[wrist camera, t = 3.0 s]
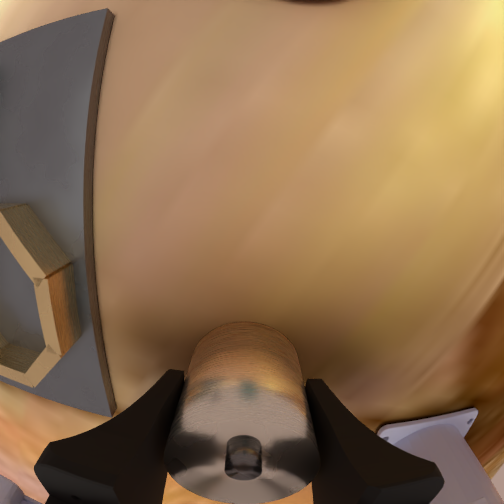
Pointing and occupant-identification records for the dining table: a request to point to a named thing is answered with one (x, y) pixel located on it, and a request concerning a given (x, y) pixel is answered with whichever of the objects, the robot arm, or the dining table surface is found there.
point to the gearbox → (51, 212)
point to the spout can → (243, 419)
